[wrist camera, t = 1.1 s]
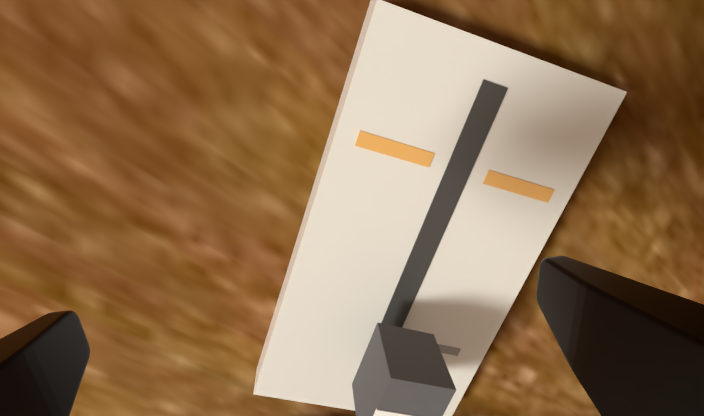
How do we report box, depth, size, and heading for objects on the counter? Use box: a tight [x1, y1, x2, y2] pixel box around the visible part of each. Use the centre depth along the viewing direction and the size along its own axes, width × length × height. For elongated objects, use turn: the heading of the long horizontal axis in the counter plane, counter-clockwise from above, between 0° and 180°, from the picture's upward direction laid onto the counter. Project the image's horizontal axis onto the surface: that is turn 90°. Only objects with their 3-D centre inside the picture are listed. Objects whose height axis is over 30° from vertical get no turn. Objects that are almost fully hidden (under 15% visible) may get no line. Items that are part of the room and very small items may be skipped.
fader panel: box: [253, 0, 627, 416], centre depth 23 cm, size 12×21×2 cm, turn 162°
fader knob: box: [352, 322, 456, 416], centre depth 21 cm, size 3×4×5 cm
